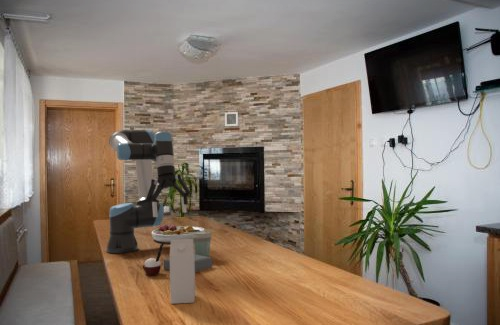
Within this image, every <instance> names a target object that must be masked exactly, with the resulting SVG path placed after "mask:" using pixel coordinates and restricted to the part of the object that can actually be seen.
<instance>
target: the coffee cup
mask: <svg viewBox="0 0 500 325" xmlns="http://www.w3.org/2000/svg"><path fill="white" fill-rule="evenodd" d="M211 239H212V233H211V231H208V230H205V231H197V232H194V234H193V240H194V241H193V243H194V254H197V255H202V256H206V257H210V252H211V251H210V250H211V241H212V240H211Z"/></svg>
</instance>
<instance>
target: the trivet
mask: <svg viewBox="0 0 500 325" xmlns="http://www.w3.org/2000/svg"><path fill="white" fill-rule="evenodd" d="M194 259H195V273H197V272H201V271H204V270H208V269H211V268H213V260H212V259H213V257H210V256H209V257H206V256H202V255H197V254H195V253H194ZM162 260H163V262H162V263H163V270H166V271H169V272H170V257H168V258H164V259H162Z"/></svg>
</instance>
